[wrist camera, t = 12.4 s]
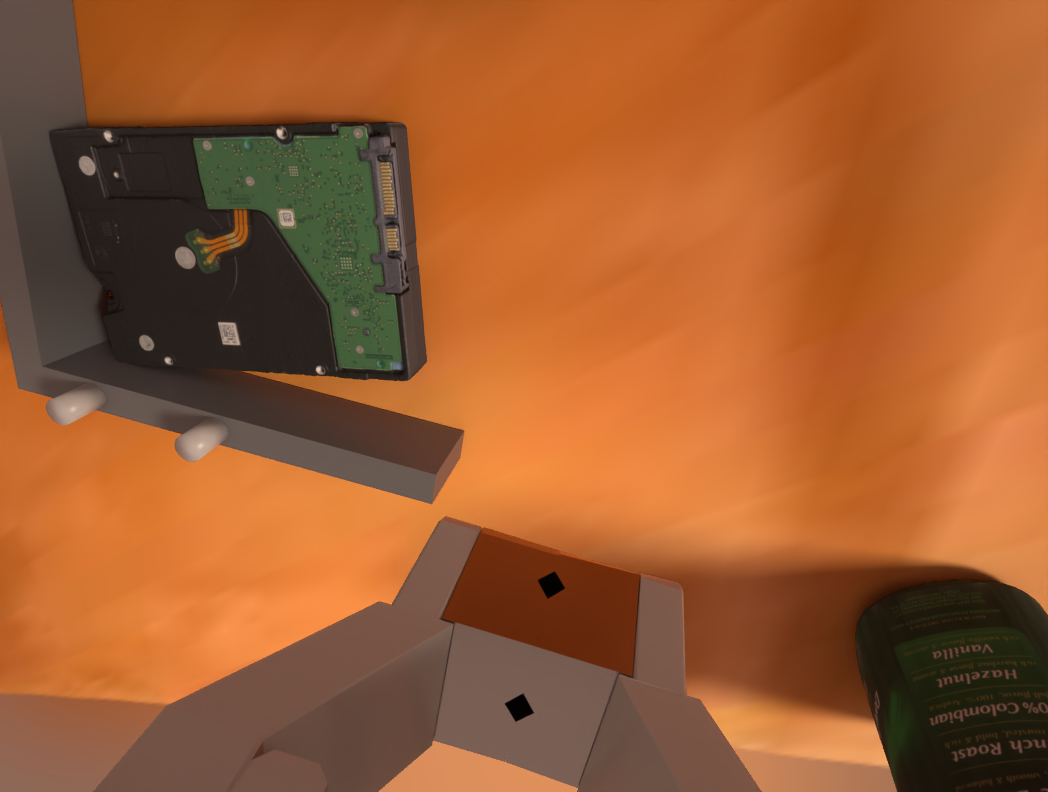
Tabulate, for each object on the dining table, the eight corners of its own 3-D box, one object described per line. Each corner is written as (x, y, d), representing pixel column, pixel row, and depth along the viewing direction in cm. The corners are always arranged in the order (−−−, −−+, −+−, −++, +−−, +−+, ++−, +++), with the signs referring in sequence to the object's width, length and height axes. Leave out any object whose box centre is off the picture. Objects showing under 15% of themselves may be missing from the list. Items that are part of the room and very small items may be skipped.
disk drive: (160, 348, 32) (435, 361, 29) (116, 368, 30) (412, 385, 27) (97, 127, 28) (410, 115, 25) (40, 129, 26) (380, 115, 22)
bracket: (18, -160, 23) (-169, -238, 18) (542, -71, 21) (500, -131, 16) (89, 357, 32) (-21, 404, 27) (459, 457, 30) (416, 529, 25)
